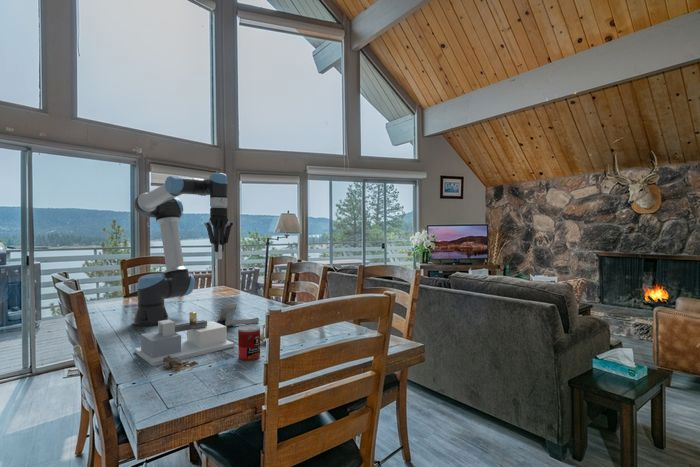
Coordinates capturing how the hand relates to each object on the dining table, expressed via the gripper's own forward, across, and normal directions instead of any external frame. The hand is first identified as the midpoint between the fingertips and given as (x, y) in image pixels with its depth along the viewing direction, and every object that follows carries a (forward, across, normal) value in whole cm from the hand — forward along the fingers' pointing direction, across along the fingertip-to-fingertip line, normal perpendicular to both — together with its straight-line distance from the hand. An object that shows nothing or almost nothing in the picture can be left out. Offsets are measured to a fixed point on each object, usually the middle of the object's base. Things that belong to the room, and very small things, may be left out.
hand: (219, 258), depth 180 cm
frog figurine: (+33, -32, -35) cm, 58 cm away
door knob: (+33, +2, -32) cm, 46 cm away
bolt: (+25, -21, -18) cm, 37 cm away
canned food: (+33, -10, -43) cm, 55 cm away
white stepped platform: (+32, -23, -18) cm, 44 cm away
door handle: (+33, +12, +5) cm, 35 cm away
